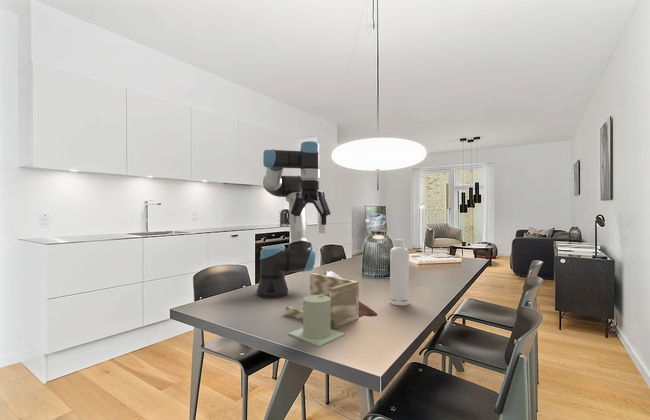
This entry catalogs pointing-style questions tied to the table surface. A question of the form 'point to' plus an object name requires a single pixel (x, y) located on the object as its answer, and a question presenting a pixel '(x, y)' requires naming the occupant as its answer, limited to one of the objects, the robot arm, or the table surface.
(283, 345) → the table surface
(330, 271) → the spoon rest
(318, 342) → the mat
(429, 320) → the table surface
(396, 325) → the table surface
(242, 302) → the table surface
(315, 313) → the can
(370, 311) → the wooden tablet
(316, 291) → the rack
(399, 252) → the bottle
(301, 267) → the robot arm
